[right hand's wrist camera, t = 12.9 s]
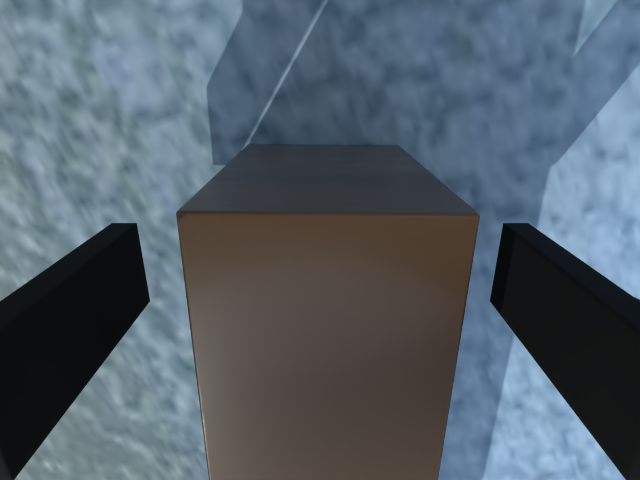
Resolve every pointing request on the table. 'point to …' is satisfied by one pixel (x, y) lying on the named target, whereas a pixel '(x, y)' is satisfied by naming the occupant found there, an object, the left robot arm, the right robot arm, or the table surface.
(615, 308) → the right robot arm
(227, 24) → the table surface
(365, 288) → the bar
